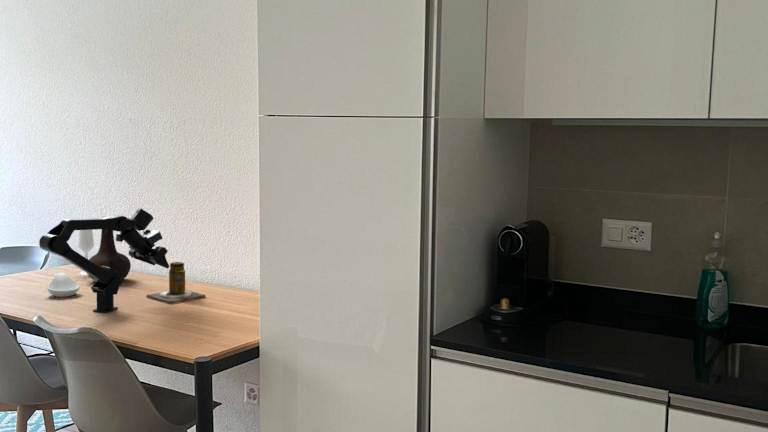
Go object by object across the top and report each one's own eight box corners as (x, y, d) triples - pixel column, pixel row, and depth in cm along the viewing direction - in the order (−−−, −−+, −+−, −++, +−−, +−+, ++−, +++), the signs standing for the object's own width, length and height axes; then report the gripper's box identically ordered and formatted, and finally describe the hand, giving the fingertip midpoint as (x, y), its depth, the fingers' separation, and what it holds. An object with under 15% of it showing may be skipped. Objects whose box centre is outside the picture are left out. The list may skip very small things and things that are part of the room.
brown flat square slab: (169, 304, 283) (169, 299, 283) (146, 297, 293) (146, 292, 293) (205, 297, 295) (205, 292, 295) (181, 291, 306) (181, 286, 305)
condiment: (187, 291, 298) (187, 261, 297) (184, 296, 290) (184, 265, 288) (168, 291, 297) (168, 261, 296) (165, 296, 289) (164, 265, 288)
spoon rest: (82, 297, 293) (81, 279, 292) (49, 300, 287) (49, 282, 286) (72, 286, 313) (72, 269, 312) (41, 289, 307) (41, 271, 306)
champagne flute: (85, 275, 334) (84, 221, 331) (75, 273, 337) (74, 220, 335) (98, 273, 340) (96, 220, 337) (88, 271, 343) (86, 219, 340)
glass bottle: (113, 287, 311) (111, 219, 308) (77, 283, 317) (75, 217, 314) (139, 279, 328) (138, 215, 325) (105, 276, 334) (103, 213, 330)
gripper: (162, 226, 276) (188, 252, 286) (135, 221, 288) (160, 246, 298) (143, 249, 271) (170, 275, 281) (116, 243, 283) (143, 269, 293)
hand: (161, 265), depth 288 cm, fingers open, 9 cm apart
